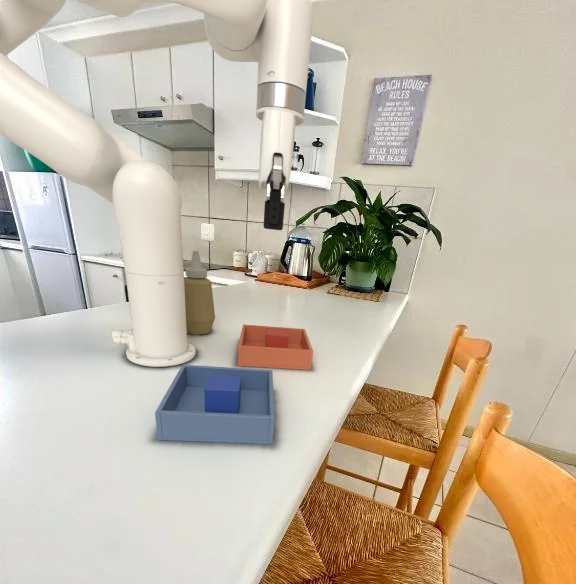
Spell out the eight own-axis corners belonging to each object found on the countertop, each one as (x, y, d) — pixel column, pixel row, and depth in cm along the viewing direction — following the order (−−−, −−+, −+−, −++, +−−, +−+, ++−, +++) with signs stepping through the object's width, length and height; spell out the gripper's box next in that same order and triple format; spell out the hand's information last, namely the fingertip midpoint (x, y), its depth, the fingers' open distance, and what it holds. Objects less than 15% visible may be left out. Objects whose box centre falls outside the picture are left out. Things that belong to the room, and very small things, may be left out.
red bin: (237, 365, 62) (238, 346, 60) (242, 341, 74) (242, 324, 73) (310, 370, 63) (313, 351, 61) (303, 345, 76) (305, 328, 74)
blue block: (204, 417, 44) (204, 389, 42) (210, 401, 48) (209, 374, 46) (238, 419, 44) (238, 390, 42) (240, 403, 48) (241, 376, 46)
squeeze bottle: (221, 330, 80) (221, 252, 72) (203, 339, 73) (201, 254, 65) (193, 324, 82) (190, 248, 74) (173, 332, 75) (167, 249, 67)
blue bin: (157, 440, 40) (154, 412, 38) (183, 387, 52) (182, 364, 50) (272, 444, 41) (274, 417, 39) (270, 391, 54) (272, 369, 52)
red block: (264, 355, 66) (266, 334, 64) (264, 347, 70) (266, 328, 68) (286, 356, 67) (288, 336, 65) (285, 349, 71) (287, 329, 69)
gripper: (257, 119, 57) (253, 225, 65) (254, 83, 42) (249, 227, 50) (299, 125, 58) (289, 229, 66) (311, 91, 43) (297, 232, 50)
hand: (272, 228), depth 58 cm, fingers open, 9 cm apart
